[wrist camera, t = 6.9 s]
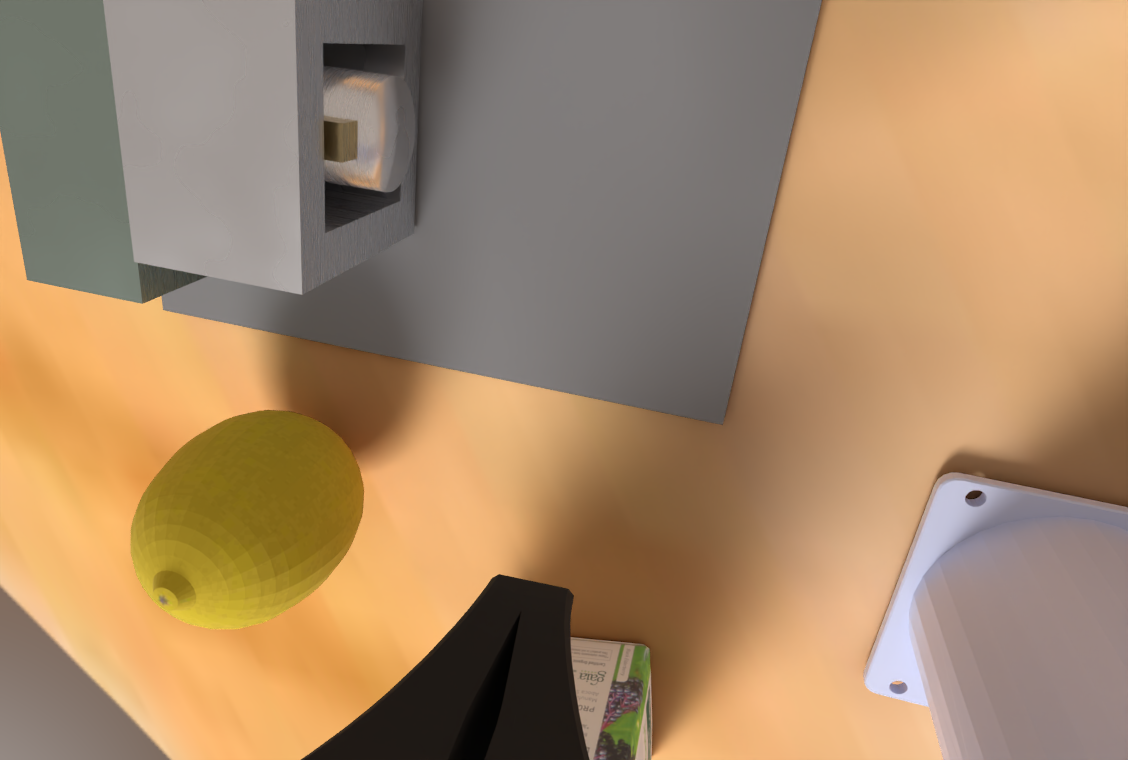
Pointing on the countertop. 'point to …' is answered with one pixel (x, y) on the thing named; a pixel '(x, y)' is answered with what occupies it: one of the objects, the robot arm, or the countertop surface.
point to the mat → (574, 200)
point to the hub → (252, 134)
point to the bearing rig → (93, 154)
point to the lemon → (247, 519)
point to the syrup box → (614, 698)
